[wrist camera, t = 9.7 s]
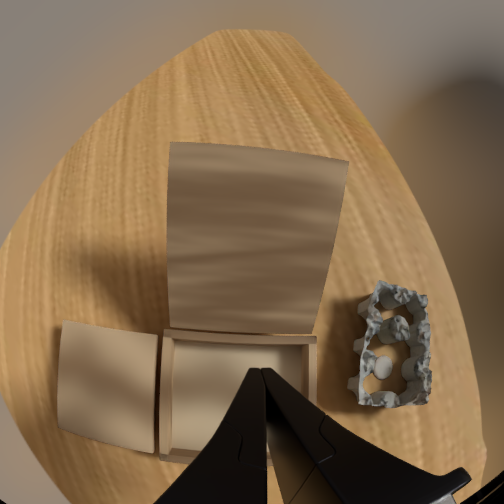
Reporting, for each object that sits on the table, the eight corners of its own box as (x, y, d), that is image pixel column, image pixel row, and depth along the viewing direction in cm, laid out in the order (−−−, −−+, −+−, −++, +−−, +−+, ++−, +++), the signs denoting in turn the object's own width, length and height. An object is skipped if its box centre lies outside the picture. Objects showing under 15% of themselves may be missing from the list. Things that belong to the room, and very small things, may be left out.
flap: (311, 333, 19) (349, 161, 15) (170, 327, 18) (170, 141, 14) (307, 324, 20) (341, 159, 16) (172, 317, 19) (174, 141, 15)
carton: (303, 453, 18) (313, 461, 15) (72, 428, 16) (58, 433, 13) (306, 339, 22) (316, 335, 19) (77, 319, 20) (64, 313, 17)
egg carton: (402, 407, 20) (429, 410, 16) (335, 400, 20) (357, 405, 16) (417, 304, 24) (442, 293, 21) (357, 286, 24) (379, 271, 21)
